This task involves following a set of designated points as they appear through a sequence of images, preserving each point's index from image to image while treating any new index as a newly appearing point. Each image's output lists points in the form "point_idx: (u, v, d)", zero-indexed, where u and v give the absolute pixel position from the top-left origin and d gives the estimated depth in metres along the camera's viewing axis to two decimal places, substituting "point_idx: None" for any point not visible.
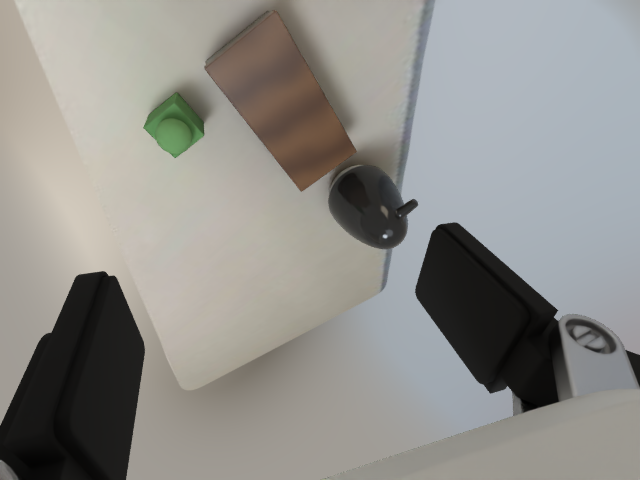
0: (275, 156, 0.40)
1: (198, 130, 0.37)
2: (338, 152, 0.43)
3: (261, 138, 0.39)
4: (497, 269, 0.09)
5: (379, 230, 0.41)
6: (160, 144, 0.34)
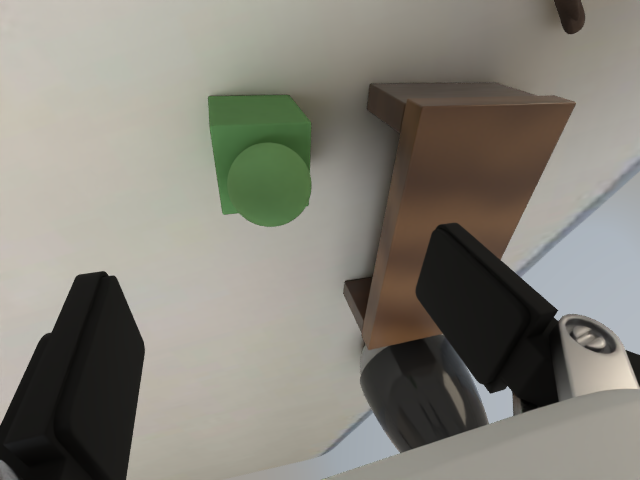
0: (383, 293, 0.22)
1: None
2: None
3: (391, 261, 0.20)
4: (497, 269, 0.09)
5: None
6: (239, 191, 0.13)
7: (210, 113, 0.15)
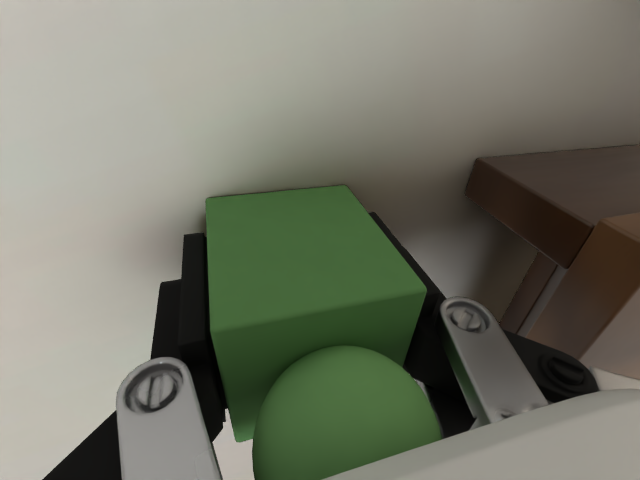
0: None
1: None
2: None
3: None
4: None
5: None
6: None
7: (211, 266, 0.07)
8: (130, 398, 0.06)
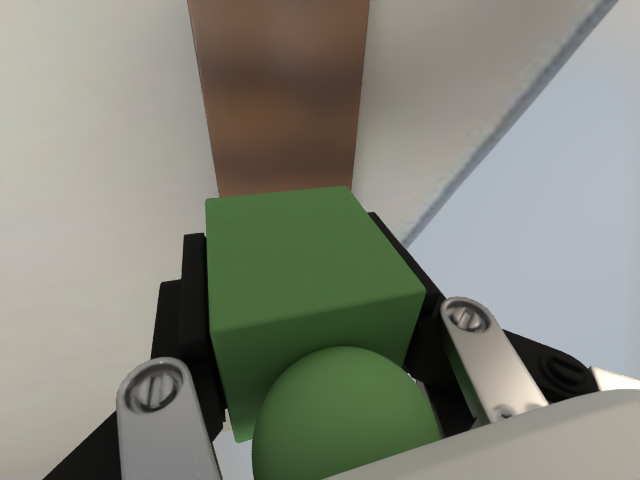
0: None
1: None
2: None
3: (218, 167, 0.20)
4: None
5: None
6: None
7: (210, 267, 0.07)
8: (130, 398, 0.06)
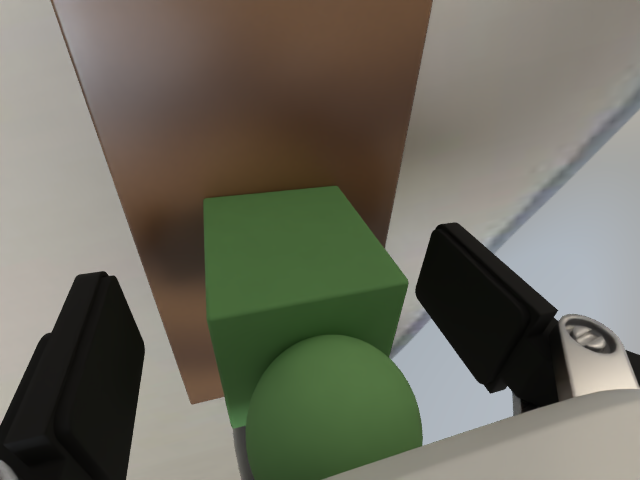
0: (166, 318, 0.12)
1: None
2: None
3: (147, 260, 0.11)
4: (497, 269, 0.09)
5: None
6: None
7: (207, 261, 0.08)
8: None
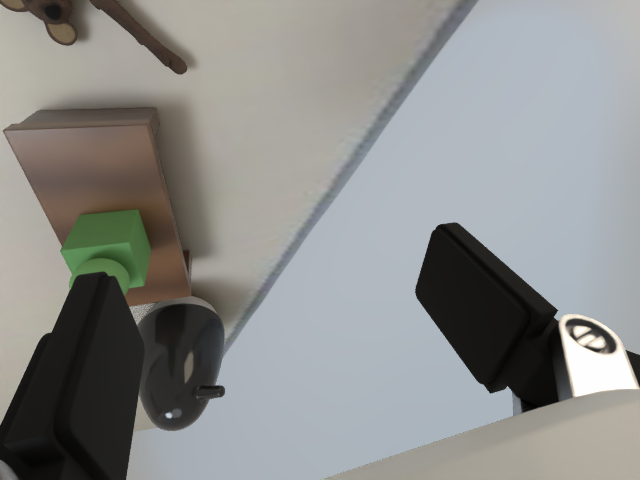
0: None
1: (140, 278, 0.26)
2: (167, 289, 0.34)
3: (60, 238, 0.28)
4: (497, 269, 0.09)
5: (162, 409, 0.31)
6: None
7: (68, 236, 0.24)
8: None
